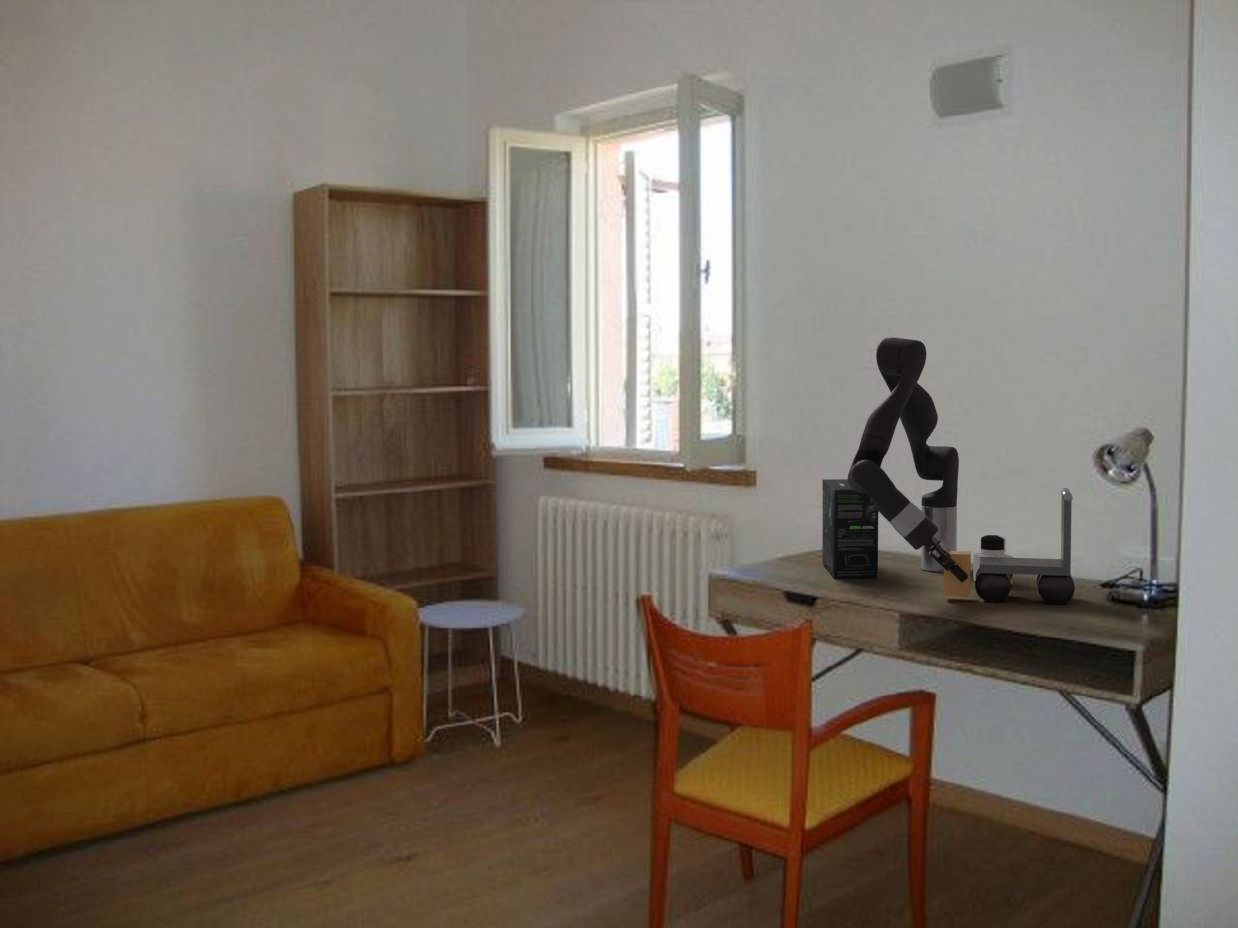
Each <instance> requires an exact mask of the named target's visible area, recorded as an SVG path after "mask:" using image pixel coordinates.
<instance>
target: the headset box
mask: <svg viewBox="0 0 1238 928" xmlns="http://www.w3.org/2000/svg"><path fill="white" fill-rule="evenodd" d="M821 482H822V543H821V544H822V546H821V547H822V550H821V551H822V564H823V565H824V567H825V568H826V570H827V571H828V572H829V574H830V575H831V576H832V577H833V579H834V580H863V579H864V580H871V579H872V580H873V579H875V580H876V579H879V511H878V510H877V509H876V507H875V503H874V501H873V500H872V499H871V498H870V497H869V496H868V495H867V493H858V492H856V491H854V490H853V489H852V488H851V487H850V485H849V483H848V478H845V479H843V478H842V479H838V478H836V479H835V478H833V479H829V478H827V479H822V481H821Z"/></svg>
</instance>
